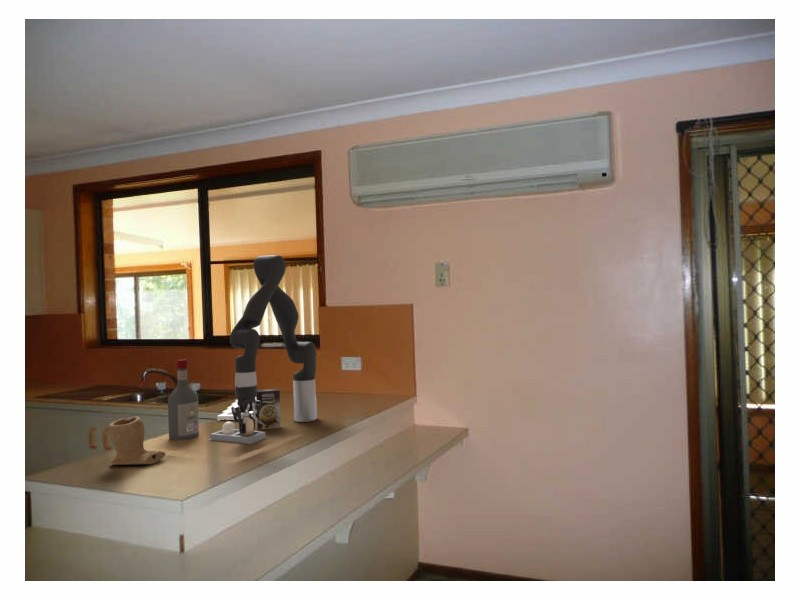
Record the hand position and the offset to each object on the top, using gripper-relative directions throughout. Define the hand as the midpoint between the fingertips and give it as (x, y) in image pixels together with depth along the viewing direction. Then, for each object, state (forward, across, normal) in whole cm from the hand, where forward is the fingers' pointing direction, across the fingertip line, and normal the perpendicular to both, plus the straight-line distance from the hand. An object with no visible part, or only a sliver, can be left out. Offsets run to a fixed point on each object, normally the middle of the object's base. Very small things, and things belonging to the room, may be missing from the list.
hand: (247, 431), depth 205 cm
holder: (+5, -49, -45) cm, 66 cm away
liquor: (+4, +4, -26) cm, 27 cm away
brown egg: (+1, 0, 0) cm, 1 cm away
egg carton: (+4, 0, -4) cm, 6 cm away
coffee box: (+4, -19, -5) cm, 20 cm away
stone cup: (+5, +33, -18) cm, 38 cm away
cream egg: (+3, 0, -9) cm, 9 cm away
